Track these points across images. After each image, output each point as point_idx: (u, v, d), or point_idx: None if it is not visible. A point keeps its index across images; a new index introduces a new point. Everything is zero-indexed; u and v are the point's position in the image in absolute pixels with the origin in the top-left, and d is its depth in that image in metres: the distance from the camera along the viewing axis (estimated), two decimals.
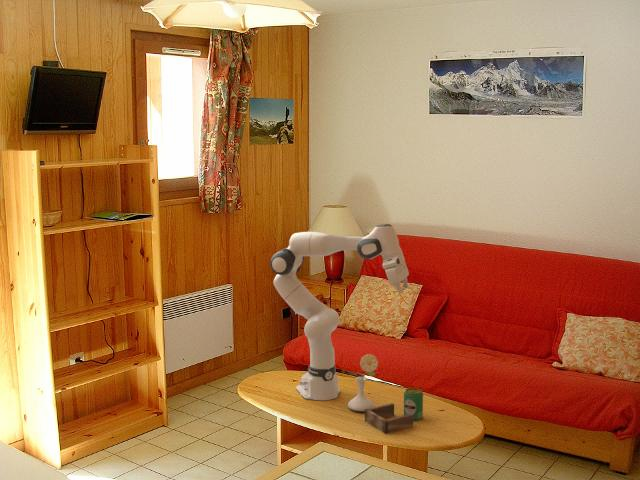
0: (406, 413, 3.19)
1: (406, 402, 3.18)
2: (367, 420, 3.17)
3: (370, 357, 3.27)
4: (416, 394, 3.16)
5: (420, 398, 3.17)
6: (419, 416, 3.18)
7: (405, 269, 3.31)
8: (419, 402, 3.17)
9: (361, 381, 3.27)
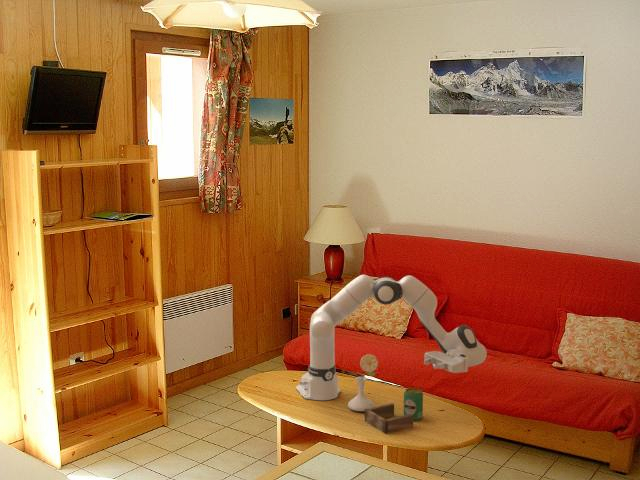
0: (406, 413, 3.19)
1: (406, 402, 3.18)
2: (367, 420, 3.17)
3: (370, 357, 3.27)
4: (416, 394, 3.16)
5: (420, 398, 3.17)
6: (419, 416, 3.18)
7: None
8: (419, 402, 3.17)
9: (361, 381, 3.27)
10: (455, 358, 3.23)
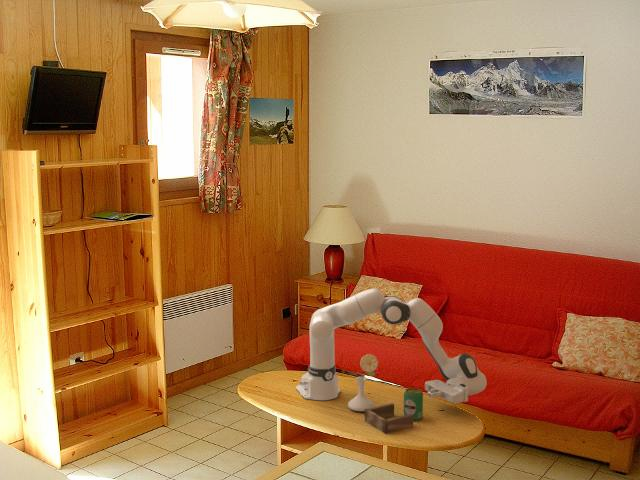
0: (406, 413, 3.19)
1: (406, 402, 3.18)
2: (367, 420, 3.17)
3: (370, 357, 3.27)
4: (416, 394, 3.16)
5: (420, 398, 3.17)
6: (419, 416, 3.18)
7: None
8: (419, 402, 3.17)
9: (361, 381, 3.27)
10: (455, 388, 3.25)
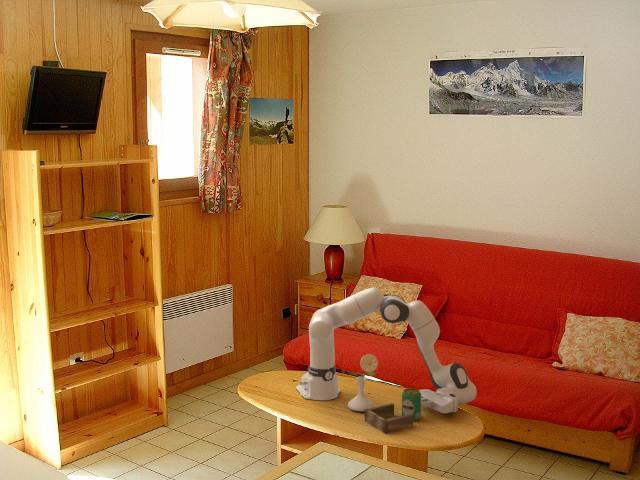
0: (404, 413, 3.18)
1: (404, 402, 3.18)
2: (367, 420, 3.17)
3: (370, 357, 3.27)
4: (414, 394, 3.16)
5: (418, 398, 3.17)
6: (418, 416, 3.18)
7: None
8: (417, 402, 3.17)
9: (361, 381, 3.27)
10: (444, 398, 3.24)
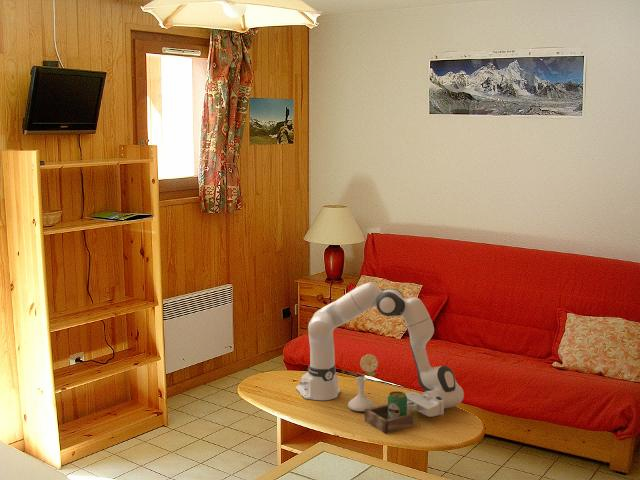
0: (390, 417, 3.15)
1: (390, 406, 3.14)
2: (367, 420, 3.17)
3: (370, 357, 3.27)
4: (400, 398, 3.12)
5: (404, 402, 3.13)
6: None
7: None
8: (403, 405, 3.13)
9: (361, 381, 3.27)
10: (431, 401, 3.20)
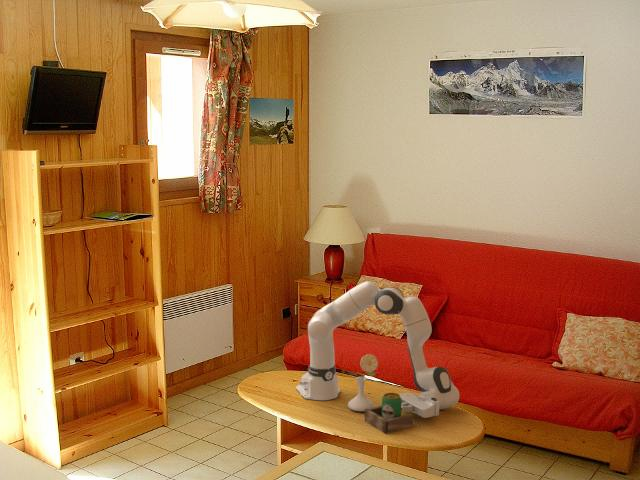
0: (384, 418, 3.13)
1: (384, 407, 3.12)
2: (367, 420, 3.17)
3: (370, 357, 3.27)
4: (394, 399, 3.11)
5: (398, 403, 3.11)
6: None
7: None
8: (397, 407, 3.11)
9: (361, 381, 3.27)
10: (426, 402, 3.18)
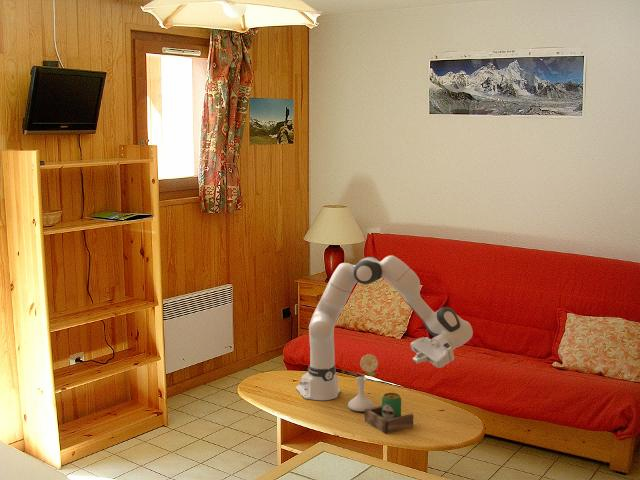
0: (384, 418, 3.13)
1: (384, 407, 3.12)
2: (367, 420, 3.17)
3: (370, 357, 3.27)
4: (394, 399, 3.11)
5: (398, 403, 3.11)
6: None
7: None
8: (397, 407, 3.11)
9: (361, 381, 3.27)
10: (439, 349, 3.19)
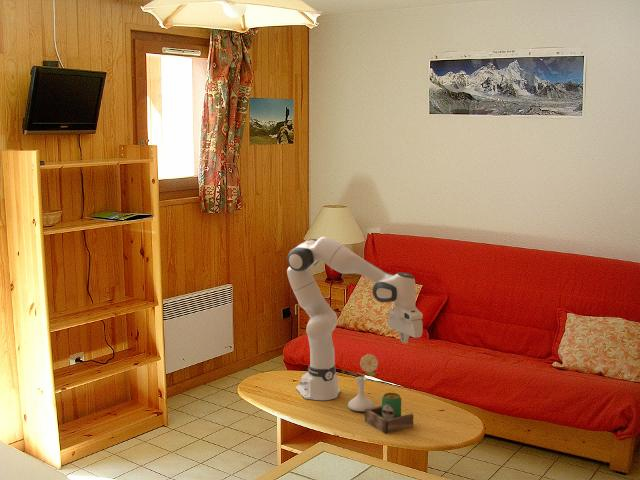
0: (384, 418, 3.13)
1: (384, 407, 3.12)
2: (367, 420, 3.17)
3: (370, 357, 3.27)
4: (394, 399, 3.11)
5: (398, 403, 3.11)
6: None
7: None
8: (397, 407, 3.11)
9: (361, 381, 3.27)
10: (406, 321, 3.16)
